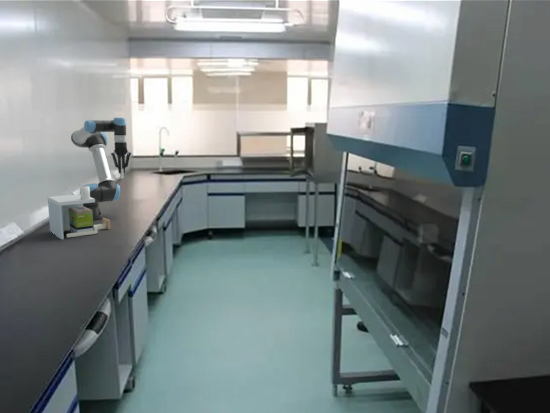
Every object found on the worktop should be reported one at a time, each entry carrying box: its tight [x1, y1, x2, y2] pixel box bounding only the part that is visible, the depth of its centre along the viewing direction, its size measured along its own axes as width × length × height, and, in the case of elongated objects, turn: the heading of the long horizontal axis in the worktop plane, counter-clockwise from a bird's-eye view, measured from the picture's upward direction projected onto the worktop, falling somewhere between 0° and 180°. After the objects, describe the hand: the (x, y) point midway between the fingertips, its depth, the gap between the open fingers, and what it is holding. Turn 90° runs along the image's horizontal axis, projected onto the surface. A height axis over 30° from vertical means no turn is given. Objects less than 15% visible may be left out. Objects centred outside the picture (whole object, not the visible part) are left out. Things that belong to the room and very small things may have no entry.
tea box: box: [69, 207, 94, 233], centre depth 304 cm, size 15×10×15 cm, turn 38°
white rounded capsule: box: [79, 185, 90, 199], centre depth 297 cm, size 5×5×7 cm
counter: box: [47, 193, 95, 240], centre depth 302 cm, size 24×20×22 cm
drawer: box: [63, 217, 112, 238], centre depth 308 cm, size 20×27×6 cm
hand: (122, 178), depth 332 cm, fingers closed
